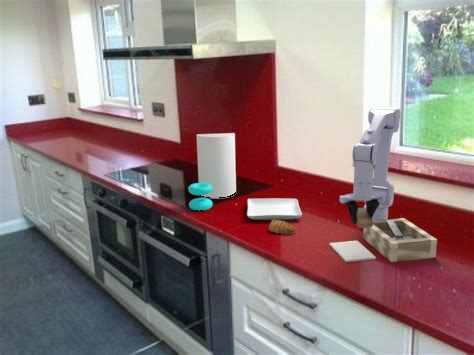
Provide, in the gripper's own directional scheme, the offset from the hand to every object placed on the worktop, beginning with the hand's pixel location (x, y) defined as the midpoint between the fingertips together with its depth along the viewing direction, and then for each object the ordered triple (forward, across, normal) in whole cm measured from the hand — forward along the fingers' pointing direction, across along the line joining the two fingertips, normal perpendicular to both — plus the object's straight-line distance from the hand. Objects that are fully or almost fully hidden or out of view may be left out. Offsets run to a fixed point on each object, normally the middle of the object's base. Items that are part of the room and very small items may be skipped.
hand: (361, 222), depth 152 cm
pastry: (+10, -20, +23) cm, 32 cm away
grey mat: (+10, -3, 0) cm, 10 cm away
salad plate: (+10, -18, +43) cm, 47 cm away
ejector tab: (+6, +13, 0) cm, 14 cm away
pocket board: (+10, +13, -1) cm, 16 cm away
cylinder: (+10, -35, +77) cm, 85 cm away
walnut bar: (-1, 0, 0) cm, 1 cm away
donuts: (+10, -46, +57) cm, 74 cm away
